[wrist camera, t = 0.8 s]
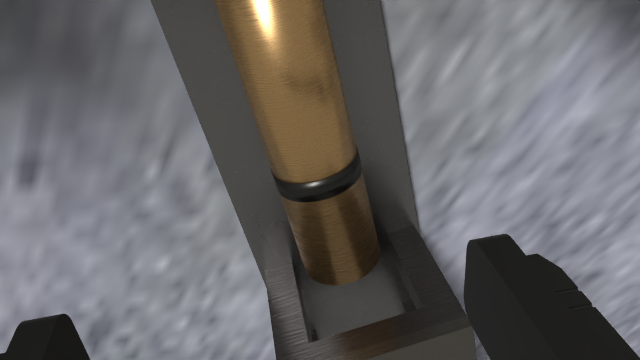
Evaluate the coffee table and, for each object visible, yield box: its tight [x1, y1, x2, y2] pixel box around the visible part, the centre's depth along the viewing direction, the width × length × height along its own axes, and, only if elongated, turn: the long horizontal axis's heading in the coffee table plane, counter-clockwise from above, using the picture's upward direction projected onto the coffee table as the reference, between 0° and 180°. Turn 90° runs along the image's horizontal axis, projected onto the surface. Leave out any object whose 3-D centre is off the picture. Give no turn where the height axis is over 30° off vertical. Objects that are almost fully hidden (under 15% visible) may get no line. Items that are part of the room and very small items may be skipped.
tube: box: [214, 0, 380, 286], centre depth 28 cm, size 22×5×5 cm, turn 14°
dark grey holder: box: [151, 0, 477, 360], centre depth 29 cm, size 34×12×10 cm, turn 14°
